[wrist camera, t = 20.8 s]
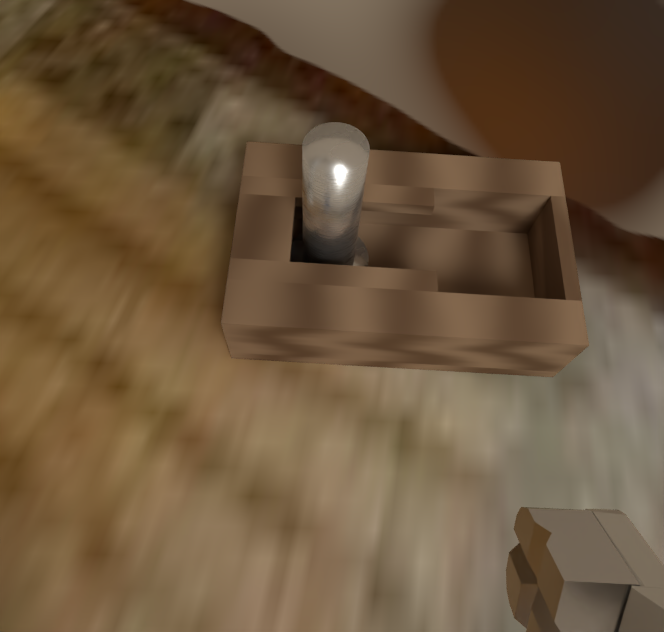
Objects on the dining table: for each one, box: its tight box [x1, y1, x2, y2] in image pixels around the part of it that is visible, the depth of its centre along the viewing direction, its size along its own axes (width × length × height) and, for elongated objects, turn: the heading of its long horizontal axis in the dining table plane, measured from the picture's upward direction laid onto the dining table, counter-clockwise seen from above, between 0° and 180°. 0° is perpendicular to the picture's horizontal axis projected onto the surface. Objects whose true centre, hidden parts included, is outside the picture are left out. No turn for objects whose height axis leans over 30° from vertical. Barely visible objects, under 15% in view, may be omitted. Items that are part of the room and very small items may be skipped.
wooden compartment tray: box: [221, 141, 589, 377], centre depth 40 cm, size 22×14×6 cm, turn 87°
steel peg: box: [290, 122, 370, 267], centre depth 36 cm, size 6×6×12 cm
